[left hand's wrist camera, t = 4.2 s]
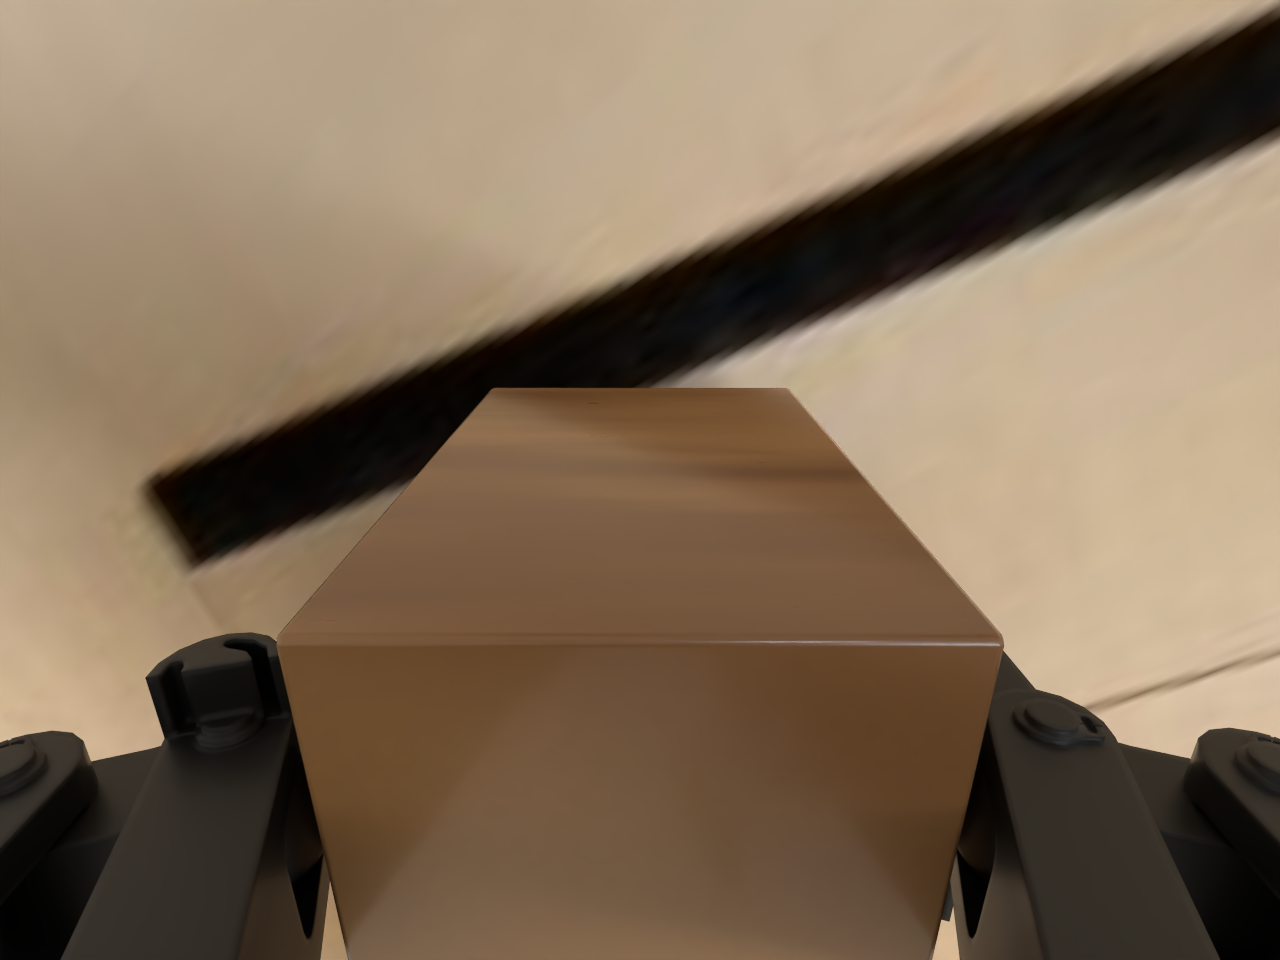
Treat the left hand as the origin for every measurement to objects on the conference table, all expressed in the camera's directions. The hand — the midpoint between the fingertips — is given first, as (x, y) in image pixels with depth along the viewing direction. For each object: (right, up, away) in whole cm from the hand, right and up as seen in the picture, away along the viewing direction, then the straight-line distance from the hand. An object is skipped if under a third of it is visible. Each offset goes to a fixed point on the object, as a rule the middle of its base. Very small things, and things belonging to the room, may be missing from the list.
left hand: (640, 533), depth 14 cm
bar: (0, -8, +4) cm, 9 cm away
